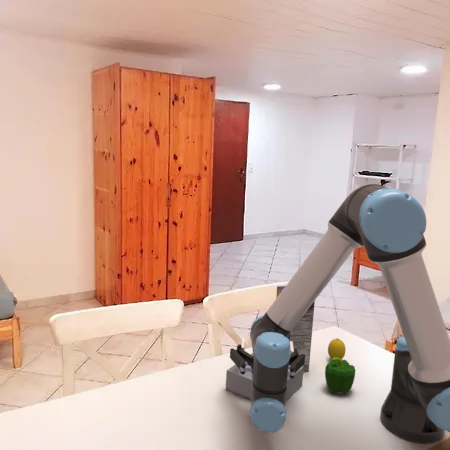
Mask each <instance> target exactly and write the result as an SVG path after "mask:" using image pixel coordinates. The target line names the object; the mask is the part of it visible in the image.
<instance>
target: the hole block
mask: <svg viewBox="0 0 450 450" xmlns="http://www.w3.org/2000/svg"><path fill="white" fill-rule="evenodd" d="M250 354H251V355H252V356H253V352H252V353H250ZM248 366H249V365H248ZM303 370H304V367H303V366H302V367H301V368H300V369H299V370H298V371H297V372H296V373H295V374H294V378H290V377H289V375H288V377H287V391H286V402H287V401H288V400H289V399H290V398H292V396H293V395H295V393H296V392H297V391H299V390H300V389H301V387H302V386H303V381H304V380H303V379H304V372H303ZM225 375H226V376H225V379H226V380H225V391H227V392H230V393H232V394H234V395H236V396H239V397H241V398H243V399H246V400H249V401H251V396H252V373H251V372H250V371H247V372H245V374H241V373H240V369H239V368H238V367H237V366H236V364H235V363H234V365H232V366H231V367H229V368H228V369H226V373H225Z"/></svg>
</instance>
